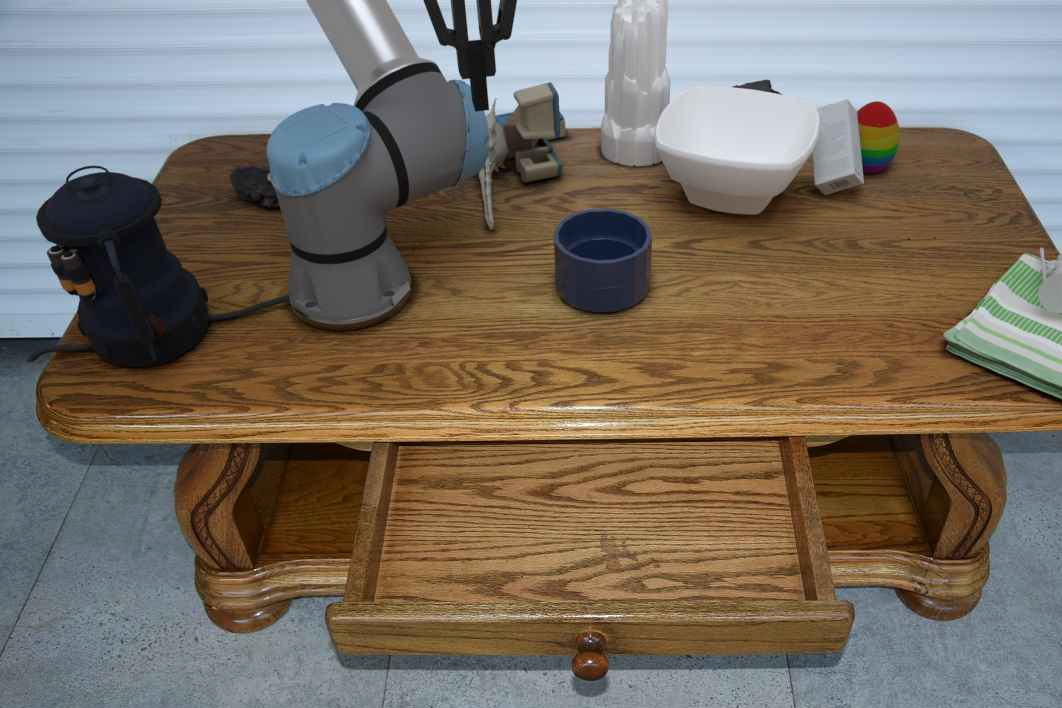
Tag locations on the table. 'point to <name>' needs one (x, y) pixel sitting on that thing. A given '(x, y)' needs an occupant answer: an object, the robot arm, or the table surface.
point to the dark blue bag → (122, 269)
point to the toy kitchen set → (537, 131)
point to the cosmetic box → (838, 149)
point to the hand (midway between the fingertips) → (480, 105)
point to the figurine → (1051, 284)
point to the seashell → (492, 161)
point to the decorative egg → (877, 136)
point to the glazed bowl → (602, 259)
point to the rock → (255, 185)
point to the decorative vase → (635, 82)
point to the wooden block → (516, 134)
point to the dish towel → (1014, 330)
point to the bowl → (735, 145)
